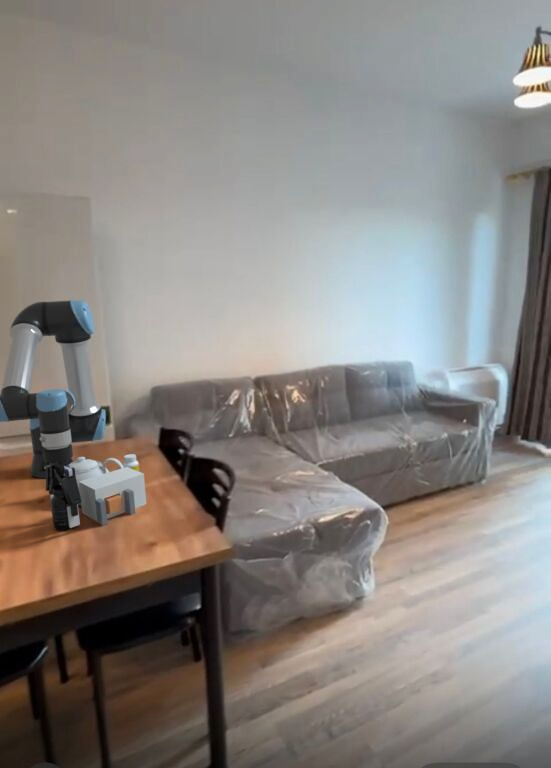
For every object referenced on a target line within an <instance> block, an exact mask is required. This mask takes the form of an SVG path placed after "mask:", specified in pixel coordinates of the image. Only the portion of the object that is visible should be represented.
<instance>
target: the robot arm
mask: <svg viewBox="0 0 551 768" xmlns="http://www.w3.org/2000/svg"><path fill="white" fill-rule="evenodd" d="M94 324H95V323H94V317H93V314H92V311H91V308H90V306H89V305H88V303H87V302H86V301H84V300H71V299H70V300H57V301H54V300H53V301H37V302H35V303H32V304H29V305H28V306H27V307H25V308H23V309H22V310H21V311H20V312H19V313H18V314H17V316H15V318H14V320H13V322H12V324H11V326H10V330H9V336H10V338H11V342H10V347H9V351H8V356H7V361H6V365H5V370H4V376H3V380H2V384H1V385H2V386H1V388H0V389H1V390H0V423H5V422H7V423H10V422H14V421H15V422H16V421H25V420H26V421H27V420H29V431H30V438H31V446H32V452H33V455H32V459H31V463H30V464H31V465H30V469H29V471H30V476H31V475H32V476H34V477H33V478H35V477H37V478H36V479H45V490H46V492H48V494H49V496H50V500H51V499H52V497H53V496H54V495H53V488H54V487H55V486H57V485H60V483H61V484H62V487H63V490H64V493H65V496H66V499H67V502H68V504H67V505H66V507H67V512H68V521H69V527H70V528H72V527H75V526H77V527H78V526H80V525H81V521H80V513H79V506H78V504H79V503H81V502H82V501H81V497H80V493H79V489H78V485H77V480H76V476H75V469H74V467H73V468H70V466H69V464H70V463H72V462H74V460H73V457H74V452H73V444H75V443H76V444H77V443H86V442H94V441H101V440H103V439H104V438H105V432H106V421H107V417H106V416H107V415H106V409H104V408H102V407H101V404H100V403H99V402H97V401H96V395H95V390H94V383H93V382H94V381H93V376H92V374H93V373H92V370H91V369H92V368H91V361H90V354H89V348H88V343H89V341H90V340H91V339H92V336H91V335H93V334H95V325H94ZM47 336H48V337H54V339H55V342H56V343H57V344H58V345H60V346H61V347H60V348H61V353H62V358H63V364H64V370H65V376H66V384H67V389H65V388H53V389H52V388H51V389H45V390H41V391H38V392H35V393H34V392H33V393H31V387H32V380H33V374H34V368H35V362H36V356H37V350H38V344H39V343H41V342H42V339H43V338H44V337H47ZM45 466H46V469H45V468H44V467H45ZM32 476H31V477H32ZM75 528H76V527H75Z"/></svg>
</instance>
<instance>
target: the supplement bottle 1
mask: <svg viewBox="0 0 551 768" xmlns="http://www.w3.org/2000/svg"><path fill="white" fill-rule="evenodd" d="M53 495H54V496H53V497H52V499H51V498H50V501H49V502H50V503H49V504H50V509H51V515H52V516H51V517H52V522H53V529H54V530H56V531H58V532H67V531H70V530H71V531H72V530H74V529H75V528H77V527H78V526H75V527H72V528H70V527H69V521H68V512H67V507H66V505H67V504H68V502H67V499H66V496H65V493H64V490H63V487H62V484H60V485H57V486H55V487H54V488H53Z"/></svg>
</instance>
